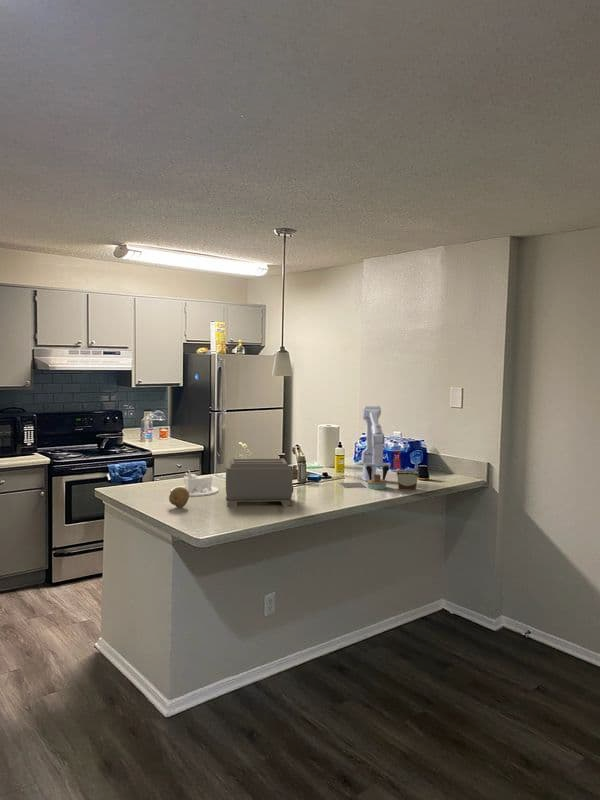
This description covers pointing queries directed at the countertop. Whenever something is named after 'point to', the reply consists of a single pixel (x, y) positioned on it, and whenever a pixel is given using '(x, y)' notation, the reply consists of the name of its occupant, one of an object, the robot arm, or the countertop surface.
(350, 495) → the countertop surface
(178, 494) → the natural sponge
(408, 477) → the food container
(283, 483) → the toaster
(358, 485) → the mat
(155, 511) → the countertop surface
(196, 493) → the dish
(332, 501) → the countertop surface
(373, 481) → the lid
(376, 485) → the bowl
